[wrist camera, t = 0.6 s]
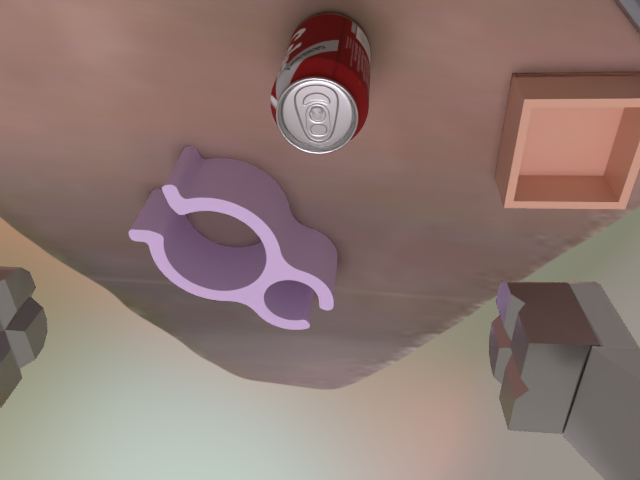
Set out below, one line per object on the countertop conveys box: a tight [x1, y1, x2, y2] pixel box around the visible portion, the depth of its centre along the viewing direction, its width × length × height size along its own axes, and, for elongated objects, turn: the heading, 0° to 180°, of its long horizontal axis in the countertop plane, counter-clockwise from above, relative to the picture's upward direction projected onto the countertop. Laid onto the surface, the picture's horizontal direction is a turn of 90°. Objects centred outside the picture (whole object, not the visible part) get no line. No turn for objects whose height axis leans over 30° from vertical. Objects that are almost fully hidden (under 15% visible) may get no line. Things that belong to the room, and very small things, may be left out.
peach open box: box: [495, 72, 640, 209], centre depth 47 cm, size 10×10×5 cm
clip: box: [129, 146, 338, 330], centre depth 56 cm, size 20×12×7 cm, turn 51°
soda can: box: [271, 13, 371, 154], centre depth 42 cm, size 7×7×12 cm
